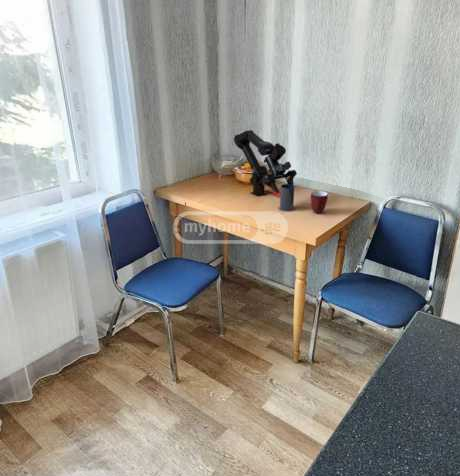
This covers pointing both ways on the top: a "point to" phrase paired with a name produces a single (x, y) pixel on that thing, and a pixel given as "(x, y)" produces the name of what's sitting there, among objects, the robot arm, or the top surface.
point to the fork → (273, 192)
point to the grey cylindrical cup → (287, 197)
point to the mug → (318, 201)
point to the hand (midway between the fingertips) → (285, 191)
